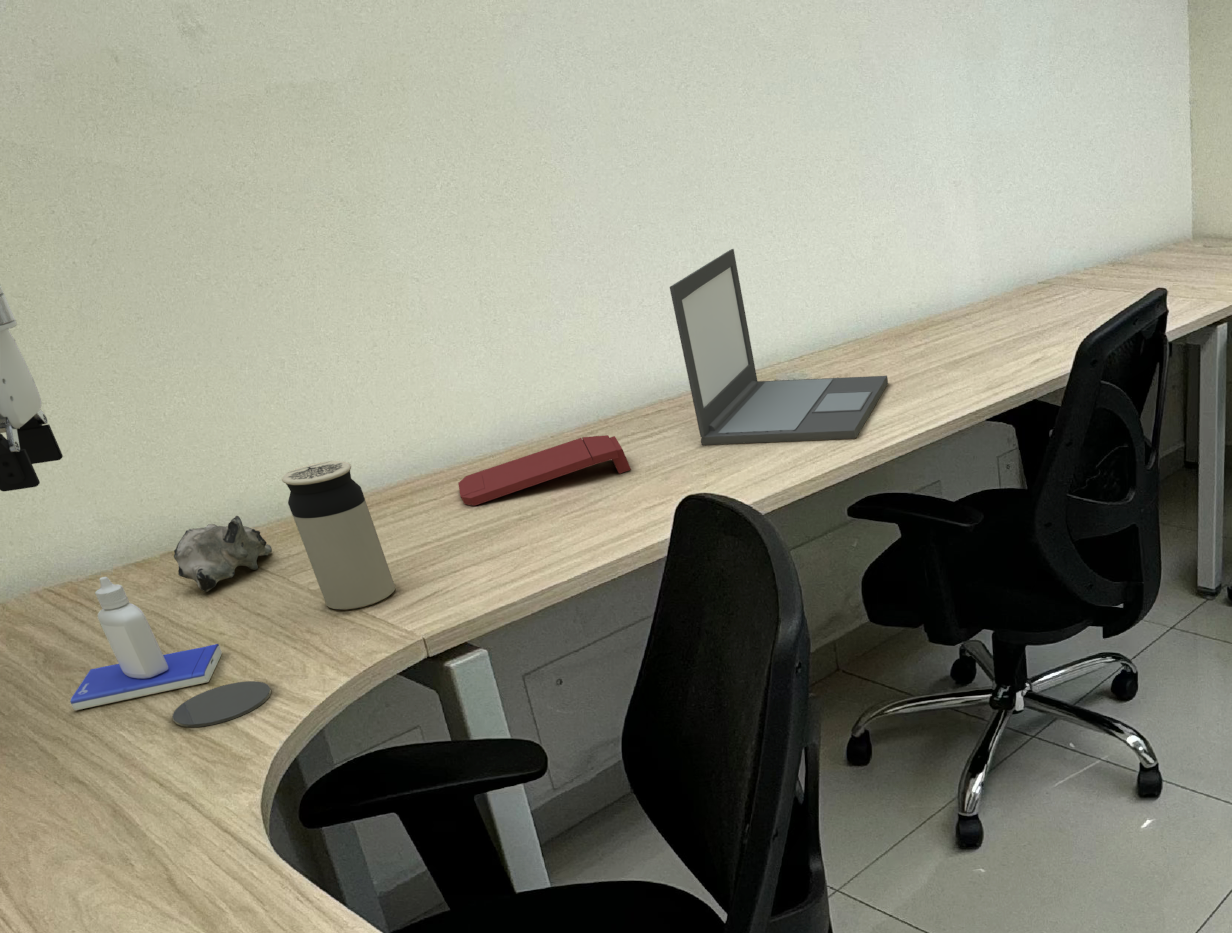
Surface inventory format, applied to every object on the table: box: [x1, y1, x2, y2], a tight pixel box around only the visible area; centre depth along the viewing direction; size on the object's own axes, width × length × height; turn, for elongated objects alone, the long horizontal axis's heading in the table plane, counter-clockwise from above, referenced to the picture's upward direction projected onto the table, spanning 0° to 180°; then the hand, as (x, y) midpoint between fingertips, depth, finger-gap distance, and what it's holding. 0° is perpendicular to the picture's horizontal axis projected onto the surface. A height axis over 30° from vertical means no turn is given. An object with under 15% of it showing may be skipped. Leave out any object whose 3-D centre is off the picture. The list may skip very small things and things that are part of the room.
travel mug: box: [281, 460, 396, 611], centre depth 148 cm, size 8×8×18 cm
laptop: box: [669, 248, 889, 446], centre depth 213 cm, size 35×28×28 cm
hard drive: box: [70, 643, 223, 711], centre depth 133 cm, size 2×8×12 cm
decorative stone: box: [173, 515, 273, 593], centre depth 159 cm, size 16×9×10 cm, turn 23°
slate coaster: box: [172, 680, 272, 728], centre depth 128 cm, size 9×9×1 cm
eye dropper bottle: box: [94, 576, 168, 679], centre depth 130 cm, size 4×6×12 cm
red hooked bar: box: [457, 434, 632, 506], centre depth 190 cm, size 12×5×25 cm
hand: (33, 474), depth 124 cm, fingers open, 9 cm apart
